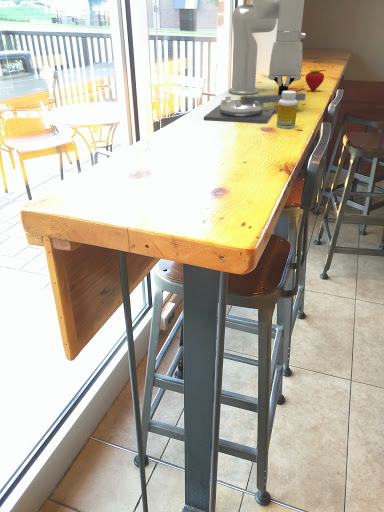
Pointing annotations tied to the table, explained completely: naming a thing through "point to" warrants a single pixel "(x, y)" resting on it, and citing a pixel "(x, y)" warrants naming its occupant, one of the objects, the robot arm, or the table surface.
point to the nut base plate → (259, 118)
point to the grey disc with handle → (251, 104)
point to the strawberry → (314, 79)
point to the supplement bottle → (287, 110)
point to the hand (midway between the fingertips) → (282, 98)
